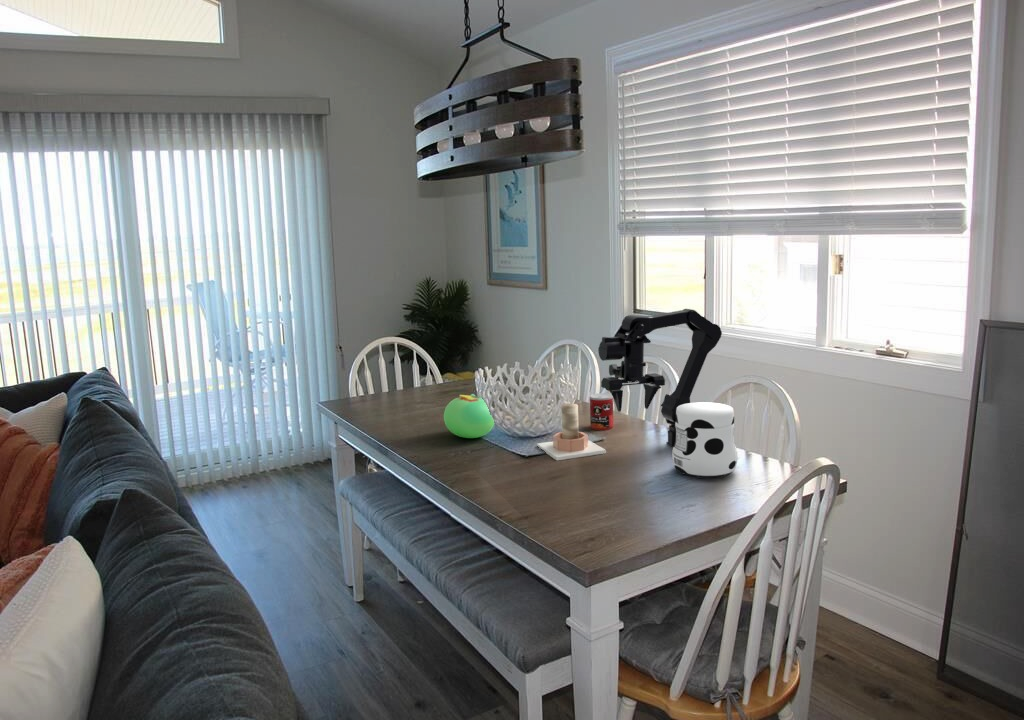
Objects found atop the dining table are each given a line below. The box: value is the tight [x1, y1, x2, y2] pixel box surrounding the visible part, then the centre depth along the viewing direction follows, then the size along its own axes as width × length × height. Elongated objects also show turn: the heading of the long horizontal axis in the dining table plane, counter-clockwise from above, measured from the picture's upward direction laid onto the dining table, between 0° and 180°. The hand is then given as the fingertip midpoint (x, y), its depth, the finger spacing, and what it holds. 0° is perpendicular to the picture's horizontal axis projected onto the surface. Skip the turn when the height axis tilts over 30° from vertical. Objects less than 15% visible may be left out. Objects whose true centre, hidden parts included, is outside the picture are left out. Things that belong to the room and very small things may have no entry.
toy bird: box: [443, 393, 496, 439], centre depth 255 cm, size 18×17×15 cm
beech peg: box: [560, 403, 580, 440], centre depth 236 cm, size 5×5×13 cm
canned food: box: [589, 392, 614, 431], centre depth 260 cm, size 8×8×11 cm
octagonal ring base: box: [536, 431, 607, 461], centre depth 237 cm, size 16×16×4 cm
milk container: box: [671, 401, 738, 479], centre depth 210 cm, size 17×17×18 cm
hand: (632, 410), depth 230 cm, fingers open, 9 cm apart
